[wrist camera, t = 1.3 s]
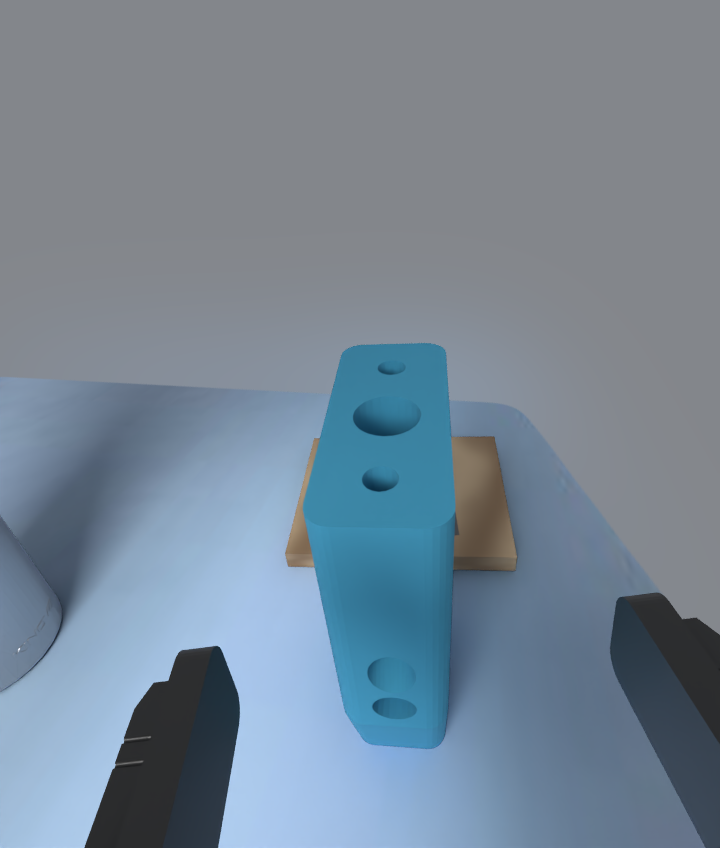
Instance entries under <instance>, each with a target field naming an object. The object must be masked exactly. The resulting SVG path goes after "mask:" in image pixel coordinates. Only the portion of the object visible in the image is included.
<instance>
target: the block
mask: <svg viewBox="0 0 720 848" xmlns="http://www.w3.org/2000/svg"><path fill="white" fill-rule="evenodd" d="M455 507H456V505H455V489H454V473H453V457H452V442H451V426H450V410H449V395H448V378H447V363H446V352H445V350H444V349H443V348H442V347H441V346H438V345H435V344H430V343H417V344H379V345H358V346H353V347H351V348H348V349H347V350H345V351H344V352H343V353H342V355H341V359H340V363H339V367H338V370H337V374H336V379H335V382H334V386H333V390H332V394H331V397H330V401H329V405H328V409H327V413H326V417H325V421H324V425H323V428H322V432H321V436H320V440H319V444H318V448H317V452H316V456H315V459H314V463H313V467H312V471H311V475H310V479H309V483H308V487H307V490H306V494H305V498H304V502H303V514H304V518H305V523H306V528H307V533H308V538H309V542H310V547H311V552H312V557H313V561H314V566H315V571H316V576H317V581H318V585H319V590H320V595H321V600H322V605H323V609H324V614H325V619H326V624H327V628H328V633H329V638H330V643H331V648H332V652H333V657H334V662H335V667H336V672H337V676H338V681H339V686H340V691H341V695H342V700H343V705H344V709H345V712H346V714H347V716H348V717H349V719H350V720H351V722H352V723H353V725H354V726H355V728H356V729H357V731H358V732H359V734H360V735H361V737H362V738H363V739H364V740H365V741H366V742H367V743H369V744H373V745H383V746H397V747H411V748H424V749H431V748H435V747H437V746H438V745H439V744H440V743H441V742H442V741H443V738H444V736H445V729H446V721H447V714H448V699H449V671H450V644H451V617H452V589H453V562H454V535H455Z"/></svg>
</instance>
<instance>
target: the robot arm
mask: <svg viewBox="0 0 720 848" xmlns="http://www.w3.org/2000/svg"><path fill="white" fill-rule="evenodd" d="M61 619H62V607H61V604H60V601H59V599H58V597H57V596H56V594H55V593H54V592H53V590H52V589H51V587H50V586H49V584H48V583H47V582H46V580H45V579H44V577H43V576H42V575H41V573H40V572H39V570H38V569H37V567H36V566H35V564H34V563H33V561H32V560H31V558H30V557H29V555H28V554H27V553H26V551H25V550H24V548H23V547H22V545H21V544H20V543H19V541H18V540H17V538H16V537H15V535H14V534H13V533H12V531H11V530H10V528H9V527H8V526H7V524H6V523H5V521H4V520H3V518H2V517H1V516H0V691H2V690H4V689H5V688H7V687H8V686H10V685H11V684H13V683H14V682H16V681H17V680H18V679H20V678H21V677H22V676H23V675H24V674H26V673H27V672H28V671H29V670H30V669H31V668H32V667H33V666H34V665H35V664H36V663H37V662H38V661H39V660H40V659H41V658H42V657H43V655H44V654H45V653H46V651H47V650H48V648H49V647H50V645H51V644H52V643H53V641H54V639H55V637H56V634H57V632H58V630H59V627H60V623H61ZM610 654H611V660H612V665H613V668H614V671H615V674H616V677H617V679H618V681H619V683H620V685H621V687H622V689H623V691H624V693H625V695H626V696H627V698H628V700H629V702H630V704H631V706H632V708H633V710H634V712H635V714H636V716H637V717H638V719H639V721H640V723H641V725H642V727H643V729H644V731H645V733H646V735H647V737H648V738H649V740H650V742H651V744H652V746H653V748H654V750H655V752H656V754H657V756H658V758H659V759H660V761H661V763H662V765H663V767H664V769H665V771H666V773H667V775H668V777H669V778H670V780H671V782H672V784H673V786H674V788H675V790H676V792H677V794H678V796H679V798H680V799H681V801H682V803H683V805H684V807H685V809H686V811H687V813H688V815H689V817H690V819H691V820H692V822H693V824H694V826H695V828H696V830H697V832H698V834H699V836H700V838H701V840H702V841H703V843H704V845H705V847H706V848H720V635H719V634H718V633H716V632H715V631H714V630H712V629H711V628H709V627H708V626H707V625H706V624H704V623H703V622H701V621H700V620H698V619H697V618H690V619H681V617H680V616H679V614H678V613H677V612H676V610H675V609H674V608H673V606H672V605H671V603H670V602H669V601H668V600H667V598H666V597H665V596H664V595H662V594H661V593H650V594H642V595H634V596H626V597H620V598H618V600H617V602H616V608H615V616H614V623H613V631H612V638H611V645H610ZM239 718H240V705H239V697H238V692H237V689H236V687H235V684H234V681H233V679H232V676H231V674H230V671H229V668H228V666H227V663H226V661H225V658H224V655H223V653H222V650H221V649H220V647H218V646H213V647H205V648H197V649H189V650H182V651H180V652H179V653H178V655H177V657H176V659H175V662H174V665H173V668H172V671H171V674H170V677H169V681H165V682H156V683H153V685H152V686H151V687H150V689H149V690H148V691H147V693H146V694H145V695H144V697H143V698H142V699H141V701H140V702H139V704H138V705H137V706H136V708H135V709H134V712H133V714H132V717H131V720H130V723H129V726H128V728H127V731H126V734H125V737H124V744H122V745H121V748H120V751H119V753H118V756H117V759H116V762H115V764H116V766H115V769H113V770H112V773H111V775H110V778H109V781H108V784H107V787H106V789H105V792H104V795H103V798H102V800H101V803H100V806H99V809H98V812H97V814H96V817H95V820H94V823H93V825H92V828H91V831H90V834H89V836H88V839H87V842H86V845H85V848H218V844H219V839H220V833H221V827H222V821H223V815H224V809H225V803H226V798H227V792H228V786H229V780H230V774H231V768H232V762H233V756H234V751H235V745H236V739H237V733H238V727H239Z"/></svg>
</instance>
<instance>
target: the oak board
mask: <svg viewBox="0 0 720 848" xmlns="http://www.w3.org/2000/svg"><path fill="white" fill-rule="evenodd" d="M319 440H320V438H314V441H313V445H312V449H311V453H310V457H309V461H308V465H307V469H306V473H305V477H304V481H303V485H302V489H301V493H300V497H299V501H298V505H297V509H296V513H295V517H294V521H293V525H292V529H291V533H290V537H289V541H288V545H287V549H286V553H285V555H286V559H287V563H288V567H315V566H314V561H313V557H312V552H311V547H310V542H309V538H308V533H307V528H306V523H305V518H304V514H303V502H304V498H305V494H306V490H307V487H308V483H309V479H310V475H311V471H312V467H313V463H314V459H315V456H316V452H317V448H318V444H319ZM451 442H452V457H453V473H454V489H455V505H456V507H455V535H454V562H453V570H499V571H515V569H516V562H517V554H516V549H515V543H514V538H513V533H512V528H511V522H510V517H509V512H508V506H507V501H506V496H505V491H504V485H503V480H502V475H501V469H500V464H499V459H498V454H497V448H496V443H495V438H494V437H451Z"/></svg>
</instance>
